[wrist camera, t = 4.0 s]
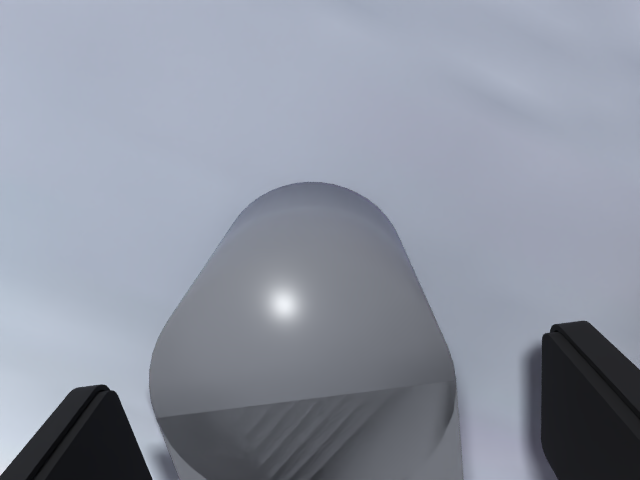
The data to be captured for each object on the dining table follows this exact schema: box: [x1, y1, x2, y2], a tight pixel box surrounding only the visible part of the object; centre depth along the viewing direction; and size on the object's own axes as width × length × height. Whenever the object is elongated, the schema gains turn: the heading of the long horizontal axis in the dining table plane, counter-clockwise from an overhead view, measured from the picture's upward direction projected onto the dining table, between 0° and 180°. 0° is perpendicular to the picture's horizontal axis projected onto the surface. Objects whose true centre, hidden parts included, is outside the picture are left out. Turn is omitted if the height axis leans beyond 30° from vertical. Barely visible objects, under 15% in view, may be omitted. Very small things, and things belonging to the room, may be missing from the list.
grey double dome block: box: [149, 182, 463, 480], centre depth 9 cm, size 4×11×4 cm, turn 10°
